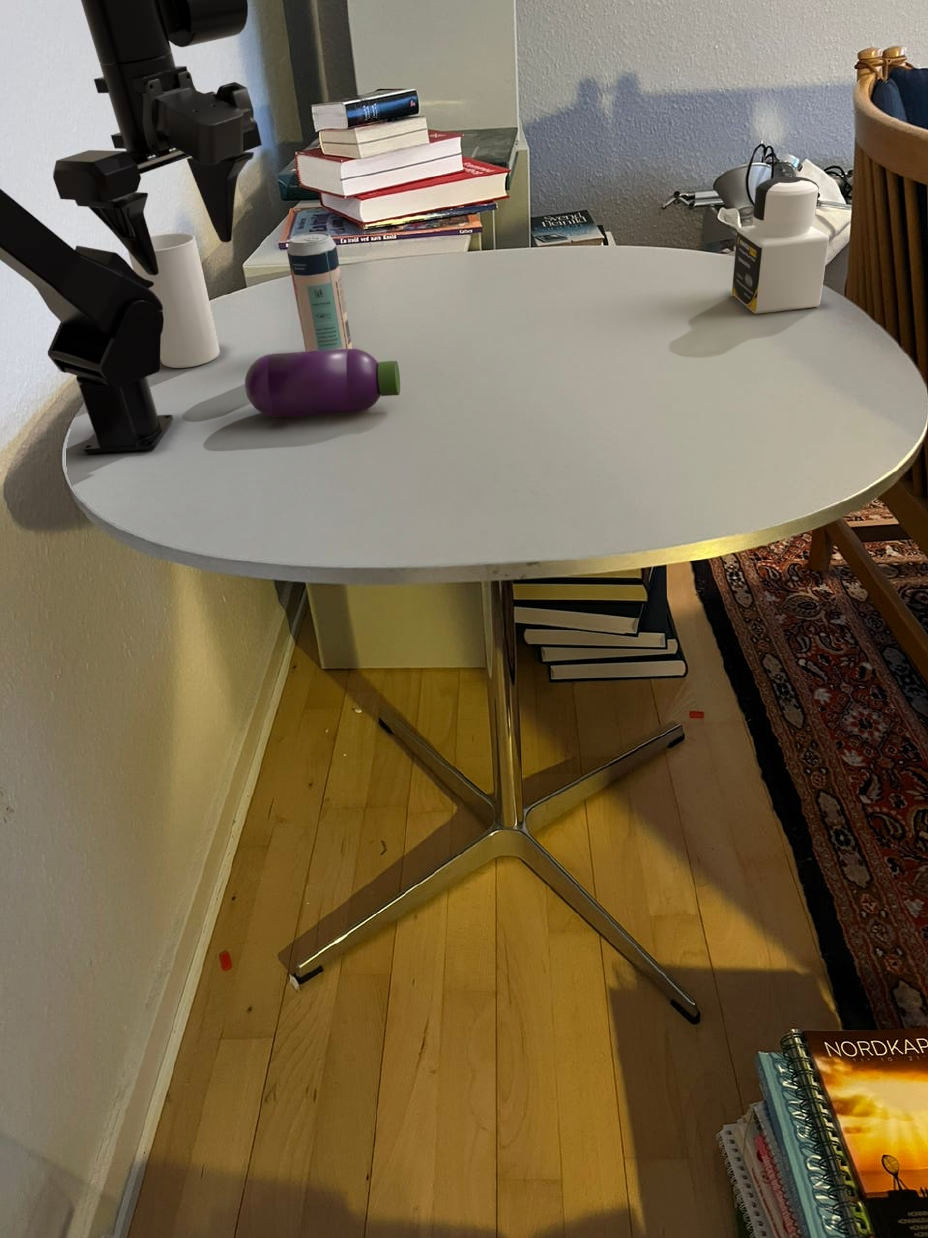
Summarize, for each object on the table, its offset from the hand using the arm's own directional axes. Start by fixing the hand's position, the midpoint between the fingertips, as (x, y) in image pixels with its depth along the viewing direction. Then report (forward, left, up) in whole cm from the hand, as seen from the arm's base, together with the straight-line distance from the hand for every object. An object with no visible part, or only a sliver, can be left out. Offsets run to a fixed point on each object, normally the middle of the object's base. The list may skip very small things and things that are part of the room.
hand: (191, 257), depth 85 cm
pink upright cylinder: (+8, -9, -13) cm, 18 cm away
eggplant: (-6, -10, -13) cm, 18 cm away
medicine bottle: (+16, -56, -13) cm, 60 cm away
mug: (+13, +7, -13) cm, 19 cm away
